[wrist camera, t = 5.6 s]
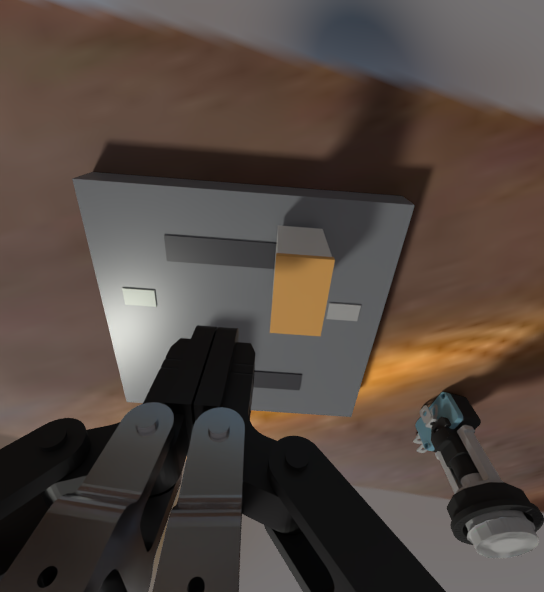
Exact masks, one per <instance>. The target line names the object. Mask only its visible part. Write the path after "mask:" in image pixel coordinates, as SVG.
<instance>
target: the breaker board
mask: <svg viewBox="0 0 544 592" xmlns="http://www.w3.org/2000/svg"><path fill="white" fill-rule="evenodd" d="M73 183H74V187H75V191H76V196H77V200H78V204H79V208H80V212H81V216H82V220H83V224H84V228H85V232H86V237H87V241H88V245H89V249H90V253H91V257H92V261H93V265H94V269H95V273H96V278H97V282H98V286H99V290H100V294H101V298H102V302H103V306H104V310H105V314H106V319H107V323H108V327H109V331H110V335H111V339H112V343H113V347H114V351H115V355H116V360H117V364H118V368H119V372H120V376H121V380H122V384H123V388H124V392H125V396H126V401H127V402H137V403H143V402H144V400H145V398H146V396H147V394H148V392H149V390H150V388H151V386H152V384H153V382H154V380H155V378H156V376H157V374H158V371H159V369H161V365H162V363H163V361H164V360H165V357H166V355H167V353H168V351H169V349H170V347H171V346H172V345H173V344H174V343H176V342H177V341H178V340H179V339H180V338H188V339H191V337H192V335H193V332H194V330H195V328H196V326H197V325H201V326H214V327H229V328H238V329H239V342H242V343H251V344H252V347H253V349H254V351H255V373H254V388H253V396H252V405H251V410H256V411H271V412H286V413H301V414H316V415H331V416H346V417H351V415H352V412H353V409H354V406H355V402H356V399H357V396H358V392H359V389H360V386H361V382H362V379H363V376H364V372H365V369H366V366H367V362H368V359H369V356H370V352H371V349H372V346H373V342H374V339H375V336H376V332H377V329H378V326H379V322H380V319H381V316H382V312H383V309H384V306H385V303H386V299H387V296H388V293H389V289H390V286H391V283H392V279H393V276H394V273H395V269H396V266H397V263H398V259H399V256H400V253H401V249H402V246H403V243H404V239H405V236H406V233H407V229H408V226H409V223H410V219H411V216H412V213H413V209H414V206H415V205H414V204H413V203H411V202H410V201H408V200H407V199H406V198H404V197H403V196H395V195H382V194H370V193H357V192H344V191H331V190H318V189H305V188H292V187H279V186H267V185H254V184H241V183H228V182H215V181H202V180H189V179H176V178H164V177H151V176H138V175H125V174H112V173H99V172H91V173H88V174H85V175H82V176H79V177H76V178H73ZM278 225H279V226H292V227H305V228H318V229H323V232H324V235H325V238H326V240H327V243H328V246H329V249H330V252H331V255H332V257H334V259H335V262H334V268H333V273H332V278H331V284H330V289H329V294H328V300H327V305H326V310H325V316H324V321H323V326H322V331H321V336H307V335H293V334H279V333H270V322H271V310H272V295H273V280H274V268H275V256H276V244H277V232H278Z"/></svg>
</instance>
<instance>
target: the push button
mask: <svg viewBox="0 0 544 592" xmlns="http://www.w3.org/2000/svg"><path fill="white" fill-rule="evenodd" d="M425 410H426V411H425ZM424 411H425V413H424ZM420 415H421V417H420V419H419V420H418V421H417V422H416V429H417V431H418V434H417V435H418V436H417V437H416V438H415V439H414V440H413V442H414V443H418V444H420V443H421V444H422V445H421V446H420V447H419V448H418V449H417V452H421V453H425V452H426V451H427V450H429V451H433V452H436V453H435V455H436V457H437V459H439V460H440V462H441V465H442V467H443V469H444V471H445V474H446V476H447V478H448V480H449V482H450V485H451V487H452V489H453V491H454V495H453V497H452V498H451V500H450V502H449V504H448V506H447V510H448V513H449V515H450V517H451V520H452V521H451V529H452V531H453V534H454V536H455V537H456V538H457V539H458V540H459V541H461V542H464V543H467V544H471V545H474V547H475V549H476V551H477V553H478V554H480V555H482V556H485V557H488V558H509V557H514V556H519V555H522V554H525V553H527V552H529V551H532V550H533V549H534V548H535V547H536V546H537V545H538V544H539V538H538V536H537V535H536V533H535V532H536V531H537V530H539V528H540V527H541V526H542V525H543V522H544V518H543V515H542V513H541V512H540V510H539V509H538V507H537V506H535V505H534V504H532V503H530V501H529V500H528V498H527V497H526V495H525V493H524V492H523V491H522V490H521V489H519V488H516V487H514V486H512V485H509V484H507V483H504V482H503V481H502V480H501V478H500V477H499V475H498V473H497V472H496V470H495V468H494V467H493V465H492V463H491V462H490V460H489V458H488V457H487V455H486V453H485V452H484V450H483V448H482V446H481V445H480V443H479V441H478V440H477V438H476V436H475V435H474V433H475V429H476V428H477V427H478V426H479V425H480V423H481V421H480V419H479V417H478V415H477V414H476V412H475V411H474V409H473V408H472V406H471V405H470V403H469V401H468V400H467V398H465V397H462V396H458V395H454V394H450V393H446V392H441V393H440V395H439V396H438V397H437V399H436V400H435V401H434V402H433V403H432V404H431V406H430V407H429V408H428V406H426V405H425V406H424V407H423V408H422V409H421V410H420ZM417 439H421V440H419V441H418V440H417ZM421 448H425V449H424V450H421Z"/></svg>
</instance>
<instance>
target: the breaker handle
mask: <svg viewBox="0 0 544 592" xmlns="http://www.w3.org/2000/svg"><path fill="white" fill-rule="evenodd" d="M334 262H335V259H334V257H332V255H331V252H330V249H329V246H328V243H327V240H326V238H325V235H324V232H323V229H318V228H305V227H292V226H279V225H278V232H277V244H276V256H275V268H274V280H273V295H272V310H271V322H270V333H279V334H293V335H307V336H321V331H322V326H323V321H324V316H325V310H326V305H327V300H328V294H329V289H330V284H331V278H332V273H333V268H334Z"/></svg>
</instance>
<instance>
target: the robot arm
mask: <svg viewBox="0 0 544 592" xmlns="http://www.w3.org/2000/svg"><path fill="white" fill-rule="evenodd" d="M254 373H255V351H254V349H253V347H252V344H251V343H242V342H239V329H238V328H229V327H214V326H201V325H197V326H196V328H195V330H194V332H193V335H192V337H191V339H188V338H180V339H179V340H178V341H177V342H176V343H174V344H173V345H172V346H171V347H170V349H169V351H168V353H167V355H166V357H165V360H164V361H163V363H162V365H161V369H159V371H158V374H157V376H156V378H155V380H154V382H153V384H152V386H151V388H150V390H149V392H148V394H147V396H146V398H145V400H144V402H143V404H142V405H139V406H137V407H135V408H134V409H132V410H131V411H129V412H128V413H127V414H126V415H125V416H124V418H123V419H122V421H121V422H119V423H117V424H113V425H109V426H104V427H99V428H94V429H89V430H86V428H85V426H84V424H83V423H82V422H81V421H79V420H77V419H73V418H63V419H58V420H54V421H52V422H49V423H47V424H45V425H43V426H41V427H40V428H38V429H36V430H34V431H32V432H31V433H29V434H27V435H25V436H23V437H22V438H20V439H18V440H16V441H14V442H13V443H11V444H9V445H7V446H5V447H4V448H2V449H0V592H148V591H149V587H150V582H151V578H152V571H153V563H154V558H155V555H156V551H157V549H158V546H159V543H160V540H161V537H162V534H163V532H164V529H165V526H166V523H167V521H168V524H167V528H166V532H165V538H164V542H163V547H162V551H161V555H160V560H159V564H158V569H157V573H156V578H155V582H154V587H153V592H239V572H240V545H241V522H242V514H244V515H246V516H248V517H250V518H252V519H254V520H256V521H258V522H260V523H262V524H264V526H265V529H266V531H267V533H268V534H269V536H270V538H271V539H272V541H273V542H274V544H275V546H276V548H277V549H278V551H279V552H280V554H281V556H282V557H283V559H284V561H285V562H286V564H287V566H288V567H289V569H290V571H291V572H292V574H293V576H294V577H295V579H296V581H297V582H298V584H299V586H300V587H301V589H302V591H303V592H446V591H445V590H444V589H443V588H442V587H441V586H440V585H439V584H438V582H437V581H436V580H435V579H434V578H433V577H432V576H431V575H430V574H429V572H428V571H427V570H426V569H425V568H424V567H423V566H422V564H421V563H420V562H419V561H418V560H417V559H416V558H415V556H414V555H413V554H412V553H411V552H410V551H409V550H408V549H407V547H406V546H405V545H404V544H403V543H402V542H401V541H400V540H399V539H398V537H397V536H396V535H395V534H394V533H393V532H392V531H391V530H390V528H389V527H388V526H387V525H386V524H385V523H384V522H383V521H382V519H381V518H380V517H379V516H378V515H377V514H376V513H375V511H374V510H373V509H372V508H371V507H370V506H369V505H368V504H367V502H365V500H364V499H363V498H362V497H361V496H360V495H359V493H358V492H357V491H356V490H355V489H354V488H353V487H352V486H351V484H350V483H349V482H348V481H347V480H346V479H345V478H344V477H343V475H342V474H341V473H340V472H339V471H338V470H337V469H336V468H335V466H334V465H333V464H332V463H331V462H330V461H329V460H328V459H327V457H326V456H325V455H324V454H323V453H322V452H321V451H320V450H319V448H318V447H317V446H316V445H315V444H314V443H312V442H311V441H310V440H308V439H306V438H303V437H300V436H287V437H284V438H282V439H280V440H278V441H276V440H273V439H271V438H268V437H266V436H264V435H262V434H261V433H259V432H258V431H257V430H256V429H255V428H254V427H253V426H252V424H251V422H250V413H251V405H252V396H253V388H254ZM186 456H187V459H186ZM185 459H186V465H185V469H184V474H183V479H182V469H183V466H184V462H185ZM181 480H182V484H181ZM180 484H181V489H180V494H179V498H178V502H177V505H176V506H174V507H173V504H174V501H175V498H176V495H177V492H178V490H179V487H180ZM172 507H173V509H172ZM171 509H172V510H171ZM170 512H171V513H170ZM169 515H170V516H169ZM168 518H169V520H168Z"/></svg>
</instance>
